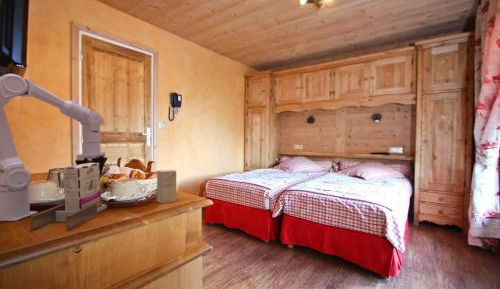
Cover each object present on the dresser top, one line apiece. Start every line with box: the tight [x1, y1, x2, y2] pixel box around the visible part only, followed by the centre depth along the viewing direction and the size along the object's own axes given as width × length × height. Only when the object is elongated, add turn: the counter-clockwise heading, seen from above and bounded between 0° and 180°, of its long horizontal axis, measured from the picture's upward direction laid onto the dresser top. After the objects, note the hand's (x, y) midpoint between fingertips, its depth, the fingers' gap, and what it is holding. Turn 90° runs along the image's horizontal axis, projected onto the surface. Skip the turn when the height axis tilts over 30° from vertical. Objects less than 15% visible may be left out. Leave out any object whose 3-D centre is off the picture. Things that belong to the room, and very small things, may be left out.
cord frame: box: [55, 186, 111, 223], centre depth 85 cm, size 7×25×5 cm, turn 1°
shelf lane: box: [30, 203, 98, 232], centre depth 72 cm, size 11×12×4 cm
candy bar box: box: [62, 163, 102, 211], centre depth 78 cm, size 11×5×16 cm, turn 3°
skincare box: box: [156, 169, 177, 204], centre depth 94 cm, size 6×4×12 cm
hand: (92, 176), depth 96 cm, fingers open, 7 cm apart
